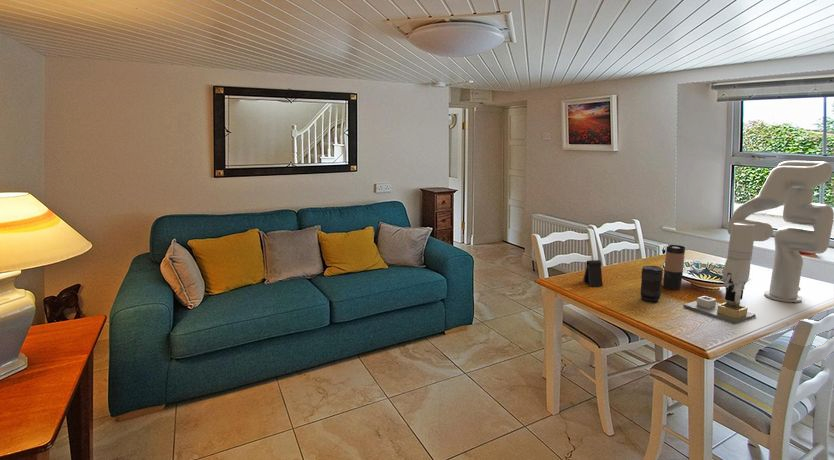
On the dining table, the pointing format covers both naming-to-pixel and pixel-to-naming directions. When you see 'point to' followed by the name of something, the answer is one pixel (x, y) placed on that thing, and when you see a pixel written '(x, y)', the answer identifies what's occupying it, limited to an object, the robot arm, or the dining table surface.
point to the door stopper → (593, 273)
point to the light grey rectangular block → (737, 297)
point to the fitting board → (720, 310)
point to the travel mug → (674, 267)
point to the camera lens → (651, 283)
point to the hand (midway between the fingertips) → (733, 299)
